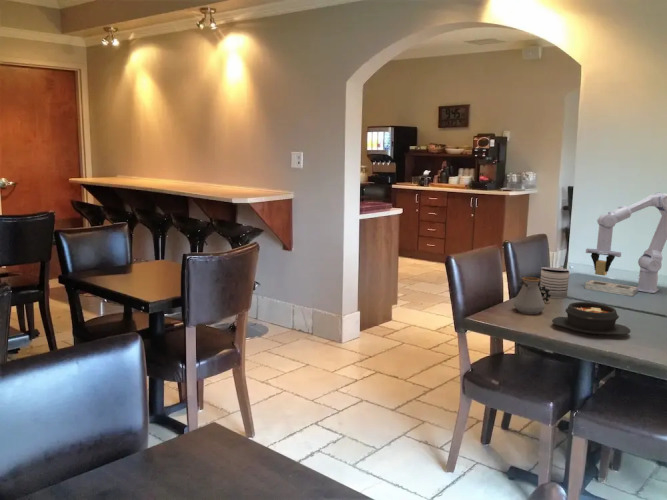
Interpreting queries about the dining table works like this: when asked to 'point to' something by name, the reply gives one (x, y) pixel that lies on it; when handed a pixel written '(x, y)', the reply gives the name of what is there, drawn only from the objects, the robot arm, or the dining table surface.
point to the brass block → (600, 267)
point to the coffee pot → (529, 297)
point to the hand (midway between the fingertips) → (601, 270)
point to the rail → (611, 288)
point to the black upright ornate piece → (545, 293)
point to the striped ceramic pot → (555, 281)
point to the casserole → (591, 319)
